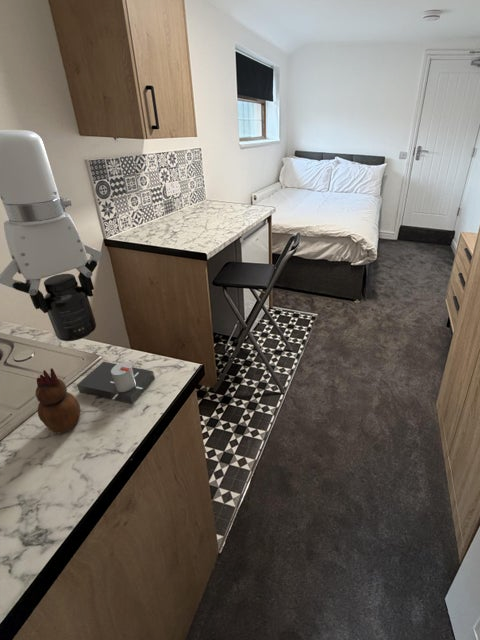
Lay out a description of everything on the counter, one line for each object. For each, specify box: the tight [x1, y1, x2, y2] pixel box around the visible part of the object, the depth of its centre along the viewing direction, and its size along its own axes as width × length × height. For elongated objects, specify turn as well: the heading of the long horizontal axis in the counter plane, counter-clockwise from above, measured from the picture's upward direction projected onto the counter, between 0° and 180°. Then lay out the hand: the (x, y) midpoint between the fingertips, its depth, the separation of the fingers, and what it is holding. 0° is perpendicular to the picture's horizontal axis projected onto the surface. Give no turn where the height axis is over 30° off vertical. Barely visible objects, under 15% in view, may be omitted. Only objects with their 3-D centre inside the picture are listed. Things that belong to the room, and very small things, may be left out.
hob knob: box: [111, 361, 136, 392], centre depth 72 cm, size 4×4×5 cm
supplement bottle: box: [43, 273, 97, 342], centre depth 62 cm, size 7×7×12 cm
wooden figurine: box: [35, 368, 81, 434], centre depth 63 cm, size 7×6×15 cm
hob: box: [76, 361, 156, 405], centre depth 75 cm, size 15×10×3 cm, turn 77°
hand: (66, 301), depth 62 cm, fingers closed on supplement bottle, 6 cm apart
